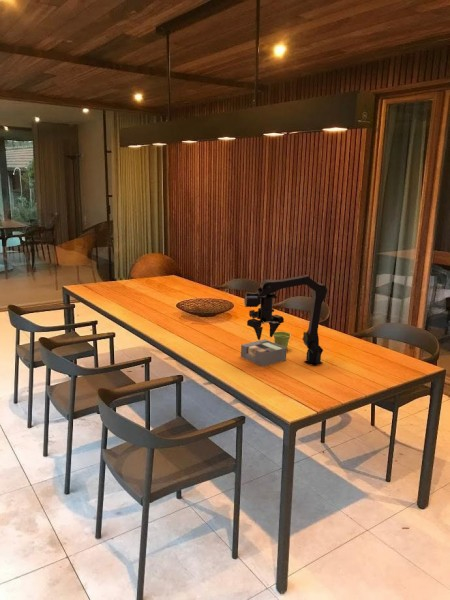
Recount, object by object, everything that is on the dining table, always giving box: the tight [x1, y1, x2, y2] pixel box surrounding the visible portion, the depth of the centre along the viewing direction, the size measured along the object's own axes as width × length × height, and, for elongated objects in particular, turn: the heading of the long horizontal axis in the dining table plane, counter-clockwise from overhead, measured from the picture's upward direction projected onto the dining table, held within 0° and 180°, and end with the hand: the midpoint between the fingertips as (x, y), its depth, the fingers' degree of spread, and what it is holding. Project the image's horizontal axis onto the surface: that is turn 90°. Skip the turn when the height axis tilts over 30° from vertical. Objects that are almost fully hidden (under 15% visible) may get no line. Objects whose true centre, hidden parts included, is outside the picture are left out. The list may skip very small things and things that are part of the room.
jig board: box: [240, 339, 288, 368], centre depth 239 cm, size 16×16×6 cm
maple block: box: [248, 346, 267, 356], centre depth 235 cm, size 9×4×4 cm, turn 37°
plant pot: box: [273, 331, 292, 349], centre depth 253 cm, size 9×9×9 cm
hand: (264, 338), depth 230 cm, fingers open, 7 cm apart
